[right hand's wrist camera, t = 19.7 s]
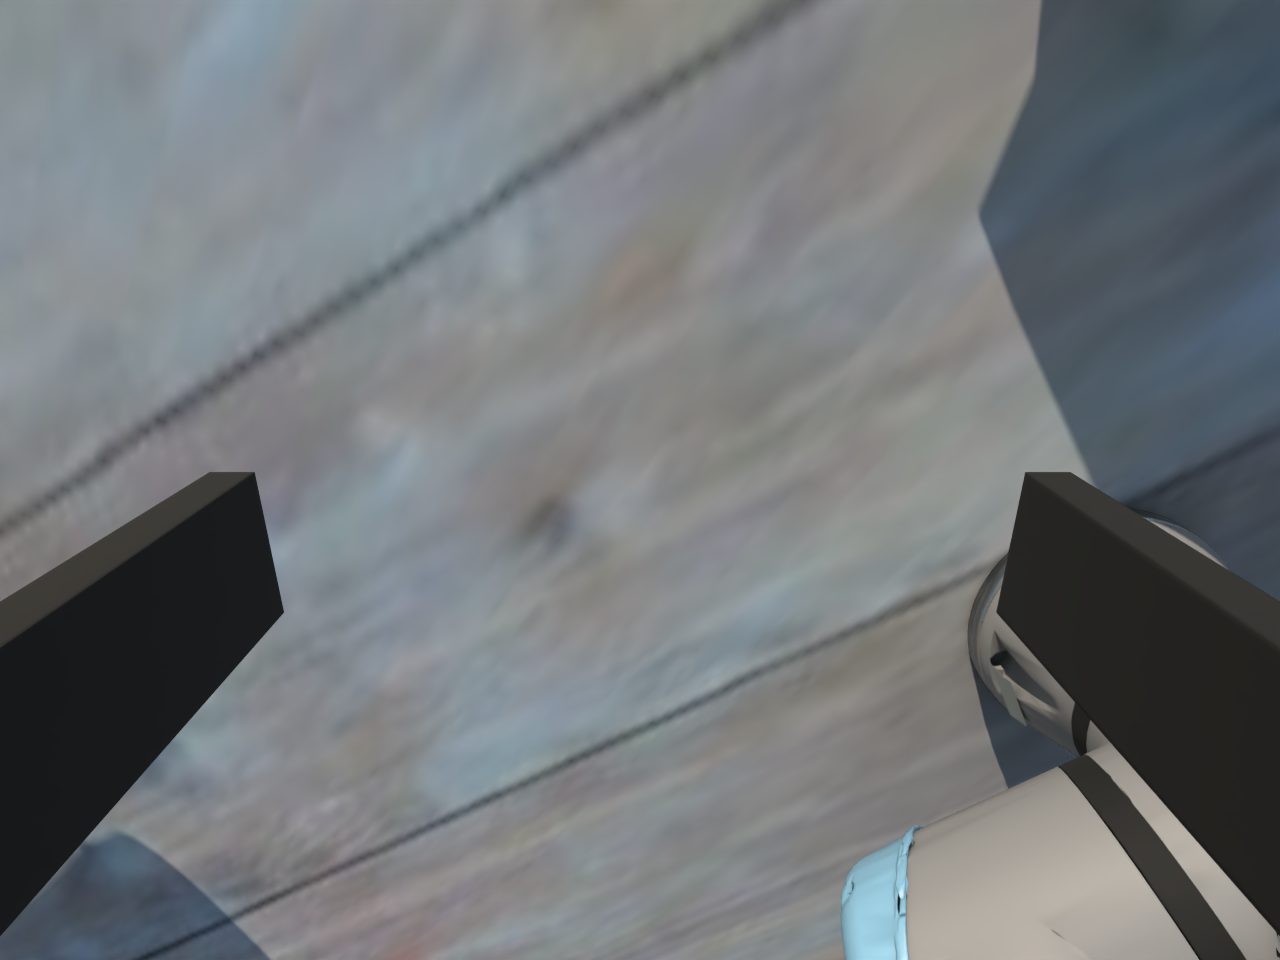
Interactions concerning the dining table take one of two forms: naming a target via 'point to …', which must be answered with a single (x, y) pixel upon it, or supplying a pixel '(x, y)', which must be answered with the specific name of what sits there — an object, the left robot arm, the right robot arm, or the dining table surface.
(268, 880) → the dining table surface
